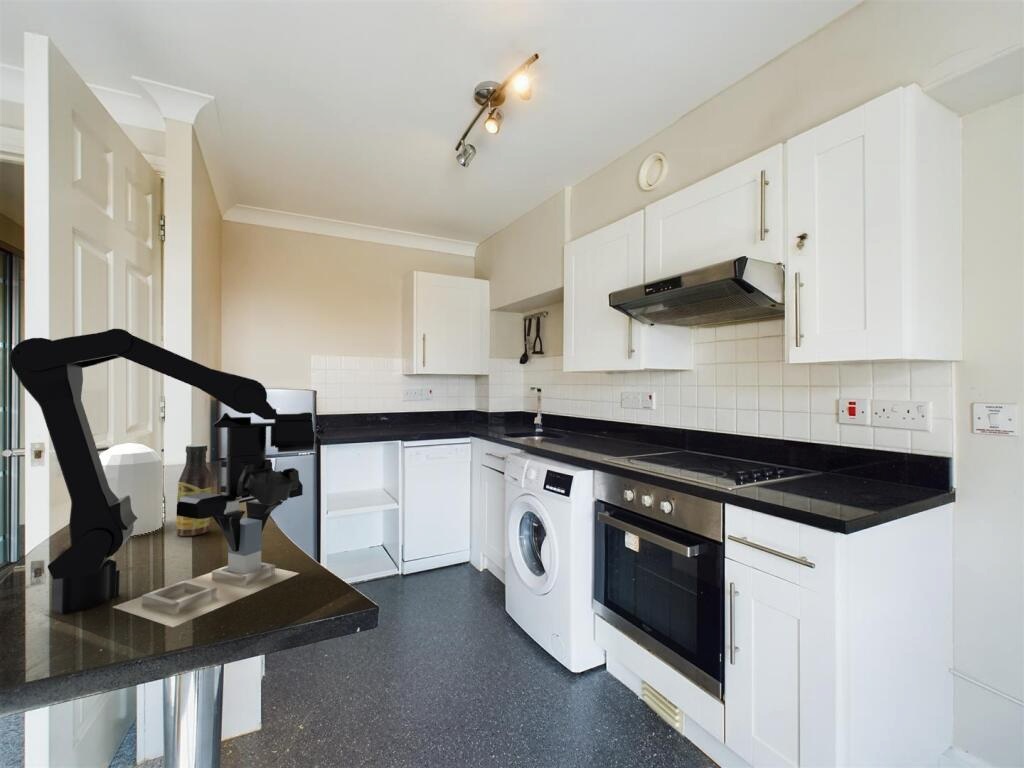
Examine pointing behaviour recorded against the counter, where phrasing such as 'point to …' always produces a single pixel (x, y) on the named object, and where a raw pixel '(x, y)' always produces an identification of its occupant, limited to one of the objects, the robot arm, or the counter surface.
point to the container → (137, 482)
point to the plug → (247, 548)
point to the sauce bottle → (193, 488)
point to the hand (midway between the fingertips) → (244, 548)
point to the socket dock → (202, 594)
